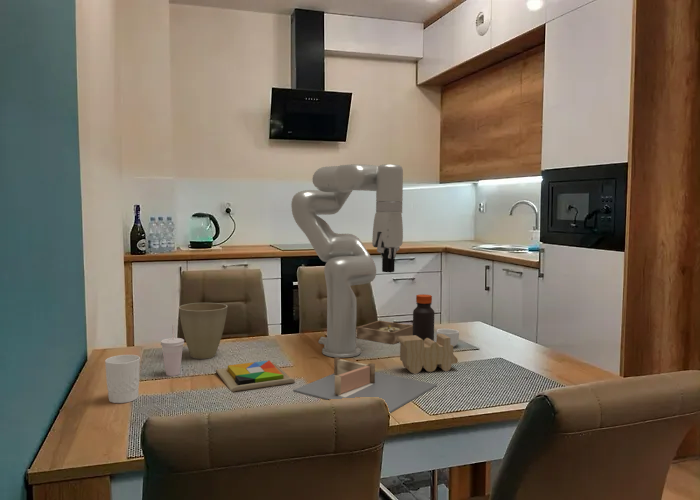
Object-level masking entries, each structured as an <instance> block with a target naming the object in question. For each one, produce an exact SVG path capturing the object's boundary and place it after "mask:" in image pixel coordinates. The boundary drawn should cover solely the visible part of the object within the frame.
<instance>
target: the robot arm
mask: <svg viewBox="0 0 700 500" xmlns="http://www.w3.org/2000/svg"><path fill="white" fill-rule="evenodd" d="M312 184H313V185H314V188H316V189H317V190H315V189H306V190H301V191H298V192H296V193H295V194H294V195H293V197H292V199H291V204H290V205H291V212H292V213H291V214H292V217H293V220H294V222H295V223H296V225H297V226H298V227H299V229H300V230H301V231H302V232H303V234H304V235H305V237H307V239H308V241H309V243H310V244H311V246H312V248H313V250H314V252H315V253H316V256H318V257H319V259H320V260H321V261H322V262H324V263H325V266H324V269H323V270H324V271H323V272H324V279H325V285H326V297H327V298H326V301H327V302H326V303H327V304H326V309H327V311H326V312H327V313H326V316H327V317H326V325H327V326H326V337H325V336H320V337H319V340H318V344H320V345H324V346H323V348H322V349H321V353H322V355H324V356H326V357H330V358H331V357H332V358H336V357H339V358H340V359H342V358H353V357H357V356H359V355H360V354H361V353H362V352H361V351H362V350H361V348H360V347H358V346H357V297H356V294H355V292H354V291H353V289H352V286H357V285H359V286H360V285H366V284H369V283H371V282H373V281H374V280H375V278H376V277H377V267H376V266H377V265H376V263H375V261H374V259H373V258H372V256H371V254H370V253H369V251H368V250H367V248H366V247H365V245H364V244H363V242H362V241H361V239H360V238H359V237H357V236H356V235H354V234H353V233H337V232H334V231H333V229H332V228H331V227H330V225H329V224H328V222H327V221H326V220H325V219H323V218H321V217H320V216H319V215H322V216H324V215H327V216H328V215H335V214H337V213H338V212H340V211H341V209H342V208H343V206H344V204H345V203H346V201H347V200H348V199H349V197H350V195H351V194H352V192H353V191H367V192H368V191H369V192H375V194H376V195H375V196H376V198H375V199H376V200H375V213H374V219H373V228H372V239H371V240H372V243H371V244H372V246H373V248H376V253H378V254H380V256H381V257H380V258H381V271H382V272H383V273H394V272H395V267H396V266H395V259H396V256H397V255H396V254H397V252H398V251H400V249H401V248H400V247H402V245H403V242H404V241H403V239H404V233H403V232H404V227H403V216H402V214H403V202H404V201H403V194H404V193H403V191H404V169H403V167H402V165H400V164H395V163H394V164H393V163H391V164H390V163H389V164H387V163H386V164H380V165H373V164H372V165H371V164H361V163H360V164H358V163H357V164H354V163H353V164H342V165H341V164H340V165H334V166H333V165H331V166H329V165H328V166H323V167H320V168H318V169H317V170H315V172H313V175H312Z"/></svg>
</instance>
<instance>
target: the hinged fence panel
mask: <svg viewBox="0 0 700 500" xmlns="http://www.w3.org/2000/svg"><path fill="white" fill-rule="evenodd" d="M369 383H370V367H369V366H364V367H361V368H358V369H355V370H352V371H349V372H346V373H343V374H340V375H336V376H335V394H336V395H340V394H342V393H344V392H347V391H350V390H352V389H355V388H358V387H361V386H363V385H366V384H369Z"/></svg>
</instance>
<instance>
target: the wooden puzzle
mask: <svg viewBox="0 0 700 500" xmlns="http://www.w3.org/2000/svg"><path fill="white" fill-rule="evenodd" d="M215 374H218V376H219V378H220V379H221V380H222V381H223V383H224V384H225V385H226V388H228V389H229V391H230V392H232V393H235V392H241V391H247V390H256V389H261V388H268V387H276V386H282V385H290V384H294V383H295V379H294V378H292V377H290V376H289V375H288V374H287V373H286V372H285V371H284V370H283V369H282V368H281V367H280V366H279V365H277V363H275V362H274V361H271V360H261V361H253V362H245V363H238V364H237V363H236V364H229V365H227V367H226V368H224V367H223V368H216V369H215Z"/></svg>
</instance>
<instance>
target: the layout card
mask: <svg viewBox="0 0 700 500" xmlns="http://www.w3.org/2000/svg"><path fill="white" fill-rule="evenodd" d="M335 376H336V375H334V373H331V374H329V375H327V376H324V377H322V378H319V379H316V380H315V381H312V382H309V383H306V384H304V385H302V386H299V387H297V388H294V389H293V392H295V393H299V394H303V395H307V396H310V397H315V398H318V399H322V400H326V401H329V400H328V399H342V398H355V397H379V398H382V399H384V400H385V402H386V403H387V405H388V408H389V412H390V414H391V413H393V412H395V411H396V410H398V409H400V408H401V407H404V405H407V404H408V403H410V402H412V401H414V400H415V399H417V398H419V397H420V396H422V395H424V394H425V393H427V392H429V391H431V390H432V389H434V388H436V387H437V386H438V385H437V384H436V383H431V382H426V381H422V380H416V379H412V378H408V377H403V376H398V375H393V374H388V373H382V372H378V371H375V383H373V384H371V383H369V384H366V385H363V386H361V387H358V388H355V389H352V390H350V391H347V392H344V393H342V394H340V395H336V394H335Z"/></svg>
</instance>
